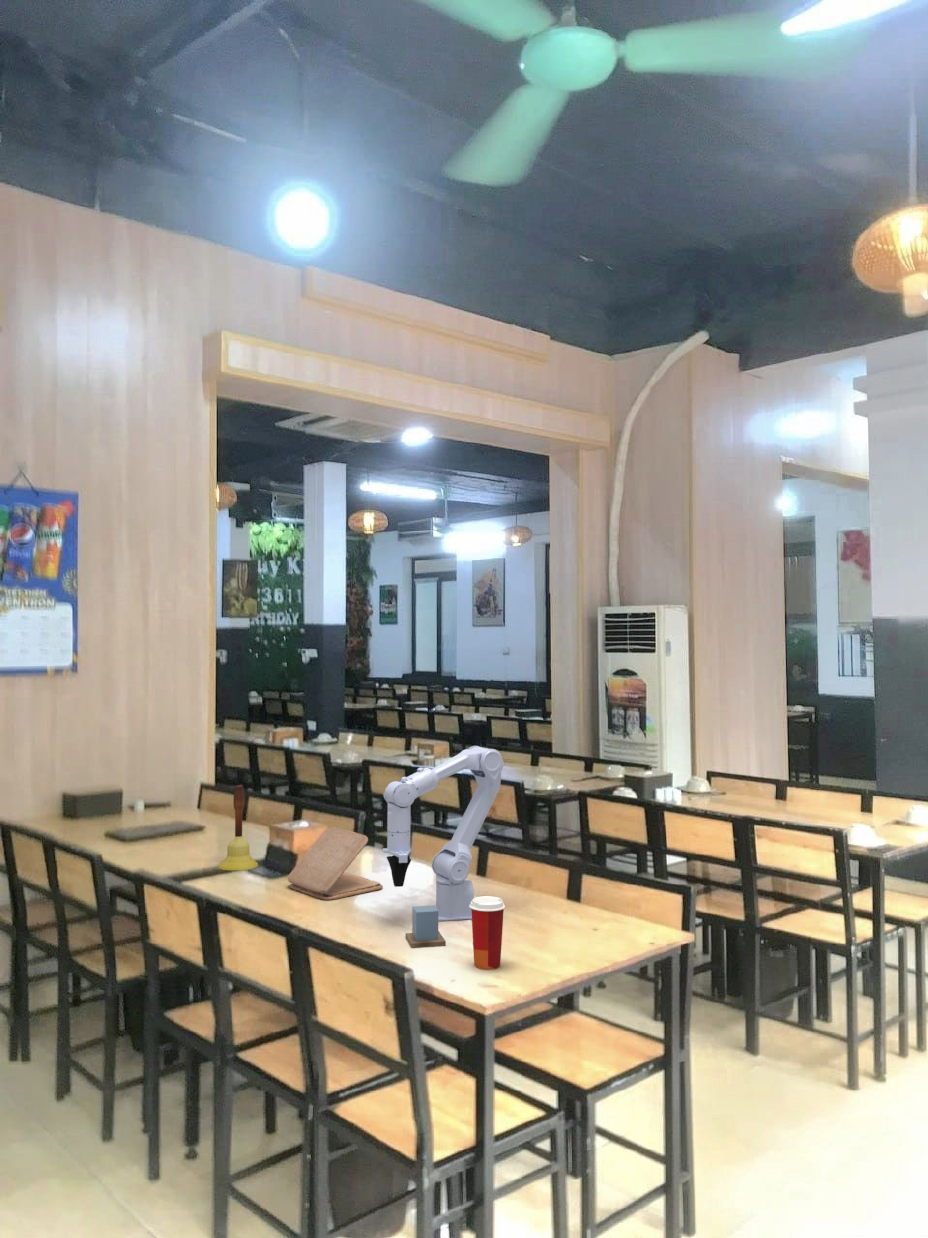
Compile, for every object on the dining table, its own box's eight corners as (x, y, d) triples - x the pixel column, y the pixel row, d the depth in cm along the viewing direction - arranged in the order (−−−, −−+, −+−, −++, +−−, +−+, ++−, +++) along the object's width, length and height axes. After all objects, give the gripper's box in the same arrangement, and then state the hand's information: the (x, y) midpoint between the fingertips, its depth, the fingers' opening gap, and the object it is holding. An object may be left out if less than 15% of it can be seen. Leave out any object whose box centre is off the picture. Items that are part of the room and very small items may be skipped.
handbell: (216, 862, 303) (217, 783, 304) (256, 860, 307) (257, 781, 308) (218, 871, 292) (219, 789, 292) (260, 869, 295) (261, 787, 296)
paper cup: (503, 959, 212) (503, 895, 212) (506, 971, 204) (506, 905, 204) (468, 959, 211) (468, 895, 212) (469, 971, 204) (469, 905, 204)
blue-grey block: (433, 933, 227) (434, 905, 227) (438, 940, 222) (438, 911, 222) (412, 934, 226) (412, 906, 226) (416, 941, 221) (416, 912, 221)
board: (438, 935, 229) (438, 931, 229) (445, 945, 221) (445, 941, 221) (405, 937, 227) (405, 933, 227) (411, 948, 219) (411, 943, 219)
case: (284, 888, 273) (284, 831, 273) (345, 876, 287) (346, 822, 287) (323, 904, 258) (324, 844, 258) (386, 890, 271) (387, 833, 272)
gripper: (378, 826, 245) (378, 879, 244) (387, 837, 230) (386, 894, 230) (406, 825, 246) (405, 878, 246) (416, 836, 232) (415, 892, 232)
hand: (398, 886), depth 238 cm, fingers closed
